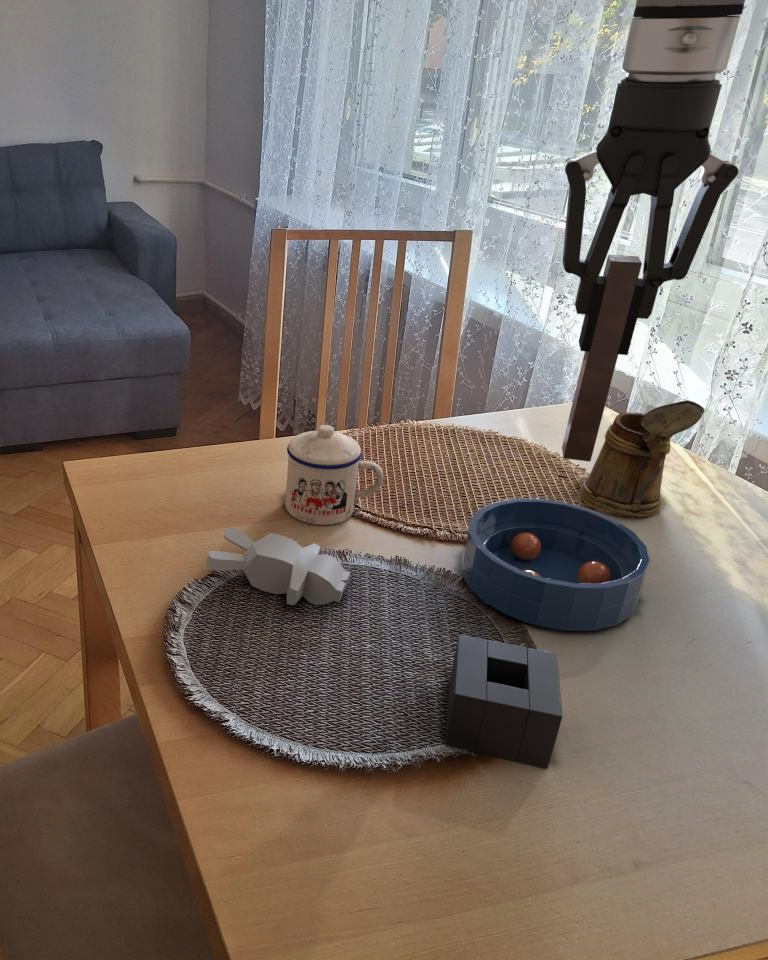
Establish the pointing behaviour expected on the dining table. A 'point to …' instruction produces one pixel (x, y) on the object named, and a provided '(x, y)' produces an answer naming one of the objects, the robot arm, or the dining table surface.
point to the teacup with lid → (325, 476)
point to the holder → (504, 701)
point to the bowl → (554, 564)
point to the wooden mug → (636, 460)
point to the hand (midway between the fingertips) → (602, 347)
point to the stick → (601, 357)
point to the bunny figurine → (283, 567)
